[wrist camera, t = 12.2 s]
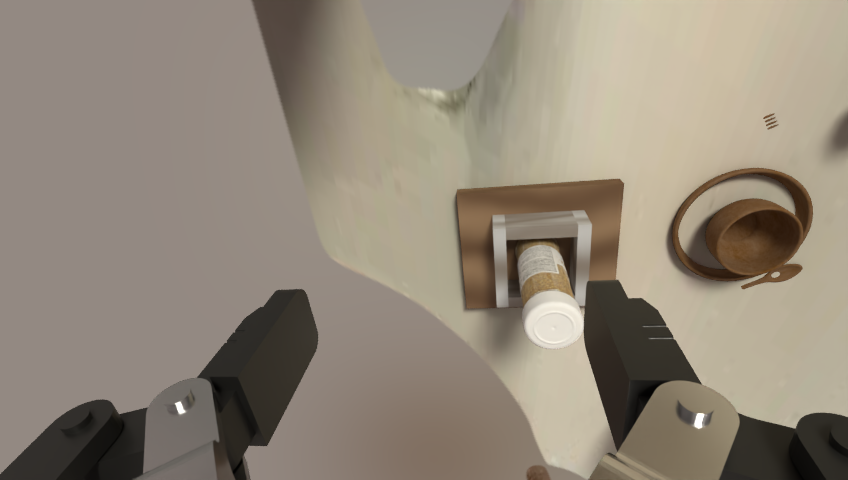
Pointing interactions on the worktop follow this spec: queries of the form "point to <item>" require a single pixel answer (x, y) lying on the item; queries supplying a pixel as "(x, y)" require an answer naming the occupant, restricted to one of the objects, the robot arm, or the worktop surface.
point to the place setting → (752, 232)
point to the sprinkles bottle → (547, 295)
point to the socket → (537, 235)
